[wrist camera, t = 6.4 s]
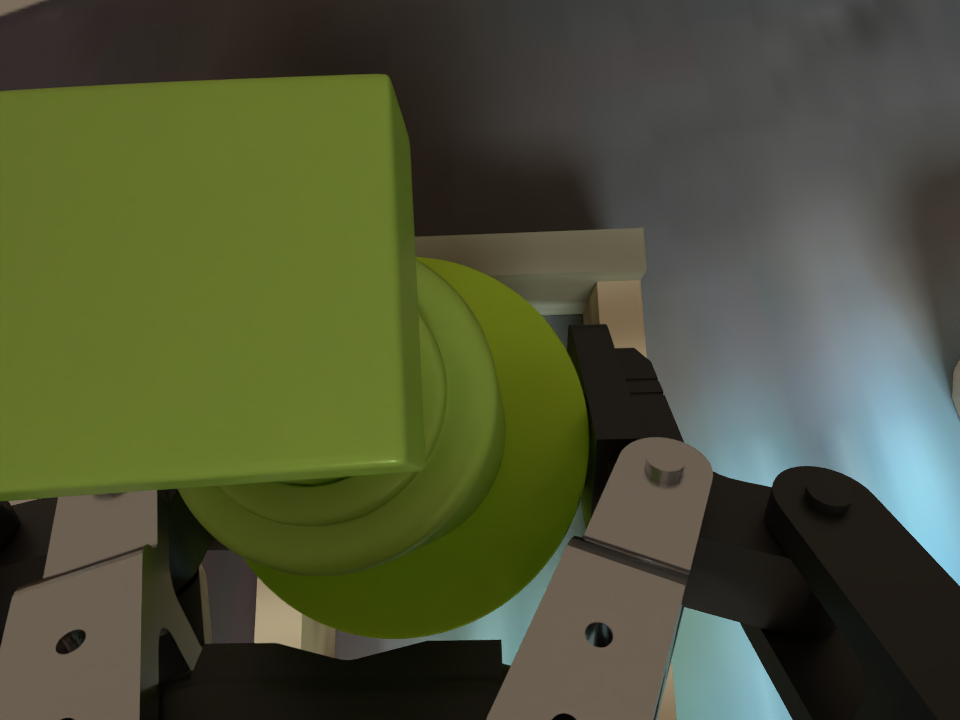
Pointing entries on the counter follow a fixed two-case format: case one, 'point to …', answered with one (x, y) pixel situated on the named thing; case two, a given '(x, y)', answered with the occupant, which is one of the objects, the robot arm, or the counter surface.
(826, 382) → the counter surface
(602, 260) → the shelf
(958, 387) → the shot glass
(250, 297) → the soap dispenser
